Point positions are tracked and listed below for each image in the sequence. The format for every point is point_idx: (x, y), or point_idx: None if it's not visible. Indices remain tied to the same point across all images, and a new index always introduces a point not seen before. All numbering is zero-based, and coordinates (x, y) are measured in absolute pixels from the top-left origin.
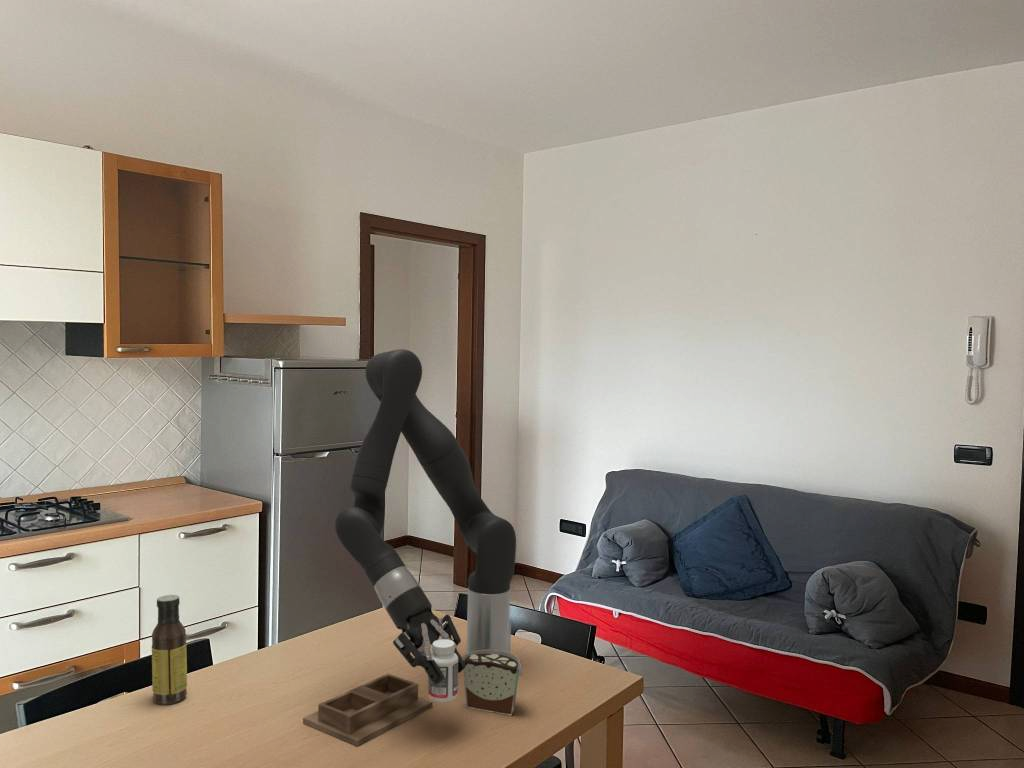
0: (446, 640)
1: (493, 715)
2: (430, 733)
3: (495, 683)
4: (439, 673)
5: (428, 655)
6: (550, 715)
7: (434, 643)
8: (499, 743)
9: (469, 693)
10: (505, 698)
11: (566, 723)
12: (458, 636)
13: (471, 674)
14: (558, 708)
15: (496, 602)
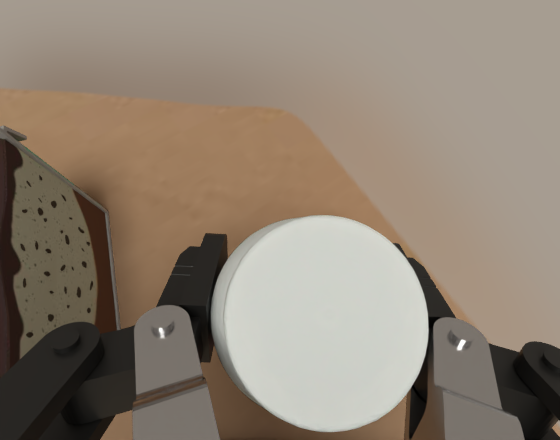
0: (260, 331)
1: (128, 251)
2: None
3: (59, 242)
4: (404, 255)
5: (465, 346)
6: (57, 139)
7: (387, 387)
8: (250, 162)
9: None
10: (84, 217)
11: (81, 93)
12: (22, 367)
13: None
14: None
15: None
